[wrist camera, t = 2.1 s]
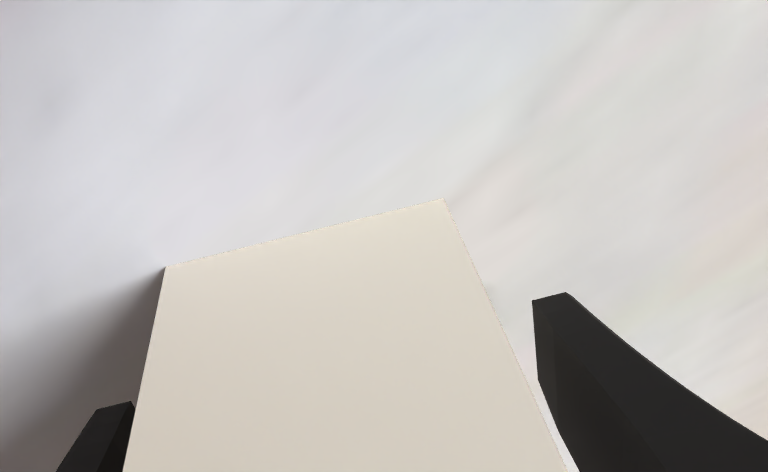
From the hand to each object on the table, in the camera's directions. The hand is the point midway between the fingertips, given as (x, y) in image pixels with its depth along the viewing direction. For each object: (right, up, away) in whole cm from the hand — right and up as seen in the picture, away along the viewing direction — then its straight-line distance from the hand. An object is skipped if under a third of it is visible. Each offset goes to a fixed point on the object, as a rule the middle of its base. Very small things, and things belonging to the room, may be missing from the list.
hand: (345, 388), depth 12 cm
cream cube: (0, +1, +1) cm, 2 cm away
